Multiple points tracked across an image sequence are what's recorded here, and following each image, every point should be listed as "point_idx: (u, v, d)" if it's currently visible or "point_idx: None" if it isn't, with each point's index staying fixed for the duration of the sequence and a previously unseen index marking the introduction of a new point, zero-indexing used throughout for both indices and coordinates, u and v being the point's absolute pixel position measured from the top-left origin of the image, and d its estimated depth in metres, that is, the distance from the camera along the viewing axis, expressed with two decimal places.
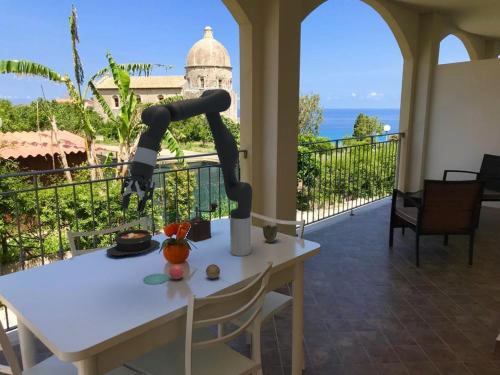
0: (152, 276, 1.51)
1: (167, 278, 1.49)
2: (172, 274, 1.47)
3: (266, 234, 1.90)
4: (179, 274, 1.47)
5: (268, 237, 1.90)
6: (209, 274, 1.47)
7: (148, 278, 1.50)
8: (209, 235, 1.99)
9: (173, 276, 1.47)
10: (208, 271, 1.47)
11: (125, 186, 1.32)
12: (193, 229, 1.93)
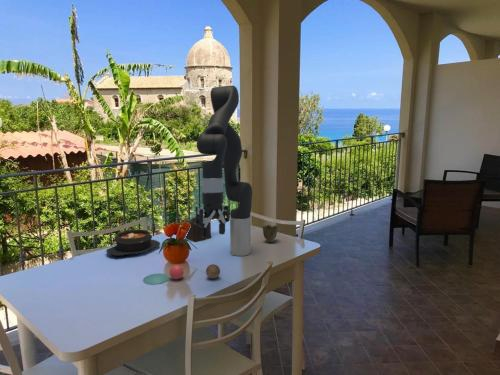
0: (152, 276, 1.51)
1: (167, 278, 1.49)
2: (172, 274, 1.47)
3: (266, 234, 1.90)
4: (179, 274, 1.47)
5: (268, 237, 1.90)
6: (209, 274, 1.47)
7: (148, 278, 1.50)
8: (209, 235, 1.99)
9: (173, 276, 1.47)
10: (208, 271, 1.47)
11: None
12: (193, 229, 1.93)
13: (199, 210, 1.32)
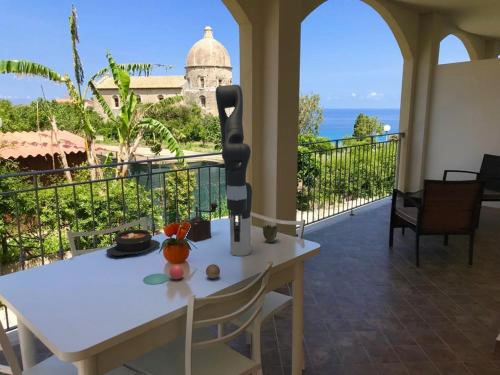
0: (152, 276, 1.51)
1: (167, 278, 1.49)
2: (172, 274, 1.47)
3: (266, 234, 1.90)
4: (179, 274, 1.47)
5: (268, 237, 1.90)
6: (209, 274, 1.47)
7: (148, 278, 1.50)
8: (209, 235, 1.99)
9: (173, 276, 1.47)
10: (208, 271, 1.47)
11: None
12: (193, 229, 1.93)
13: (238, 223, 1.40)
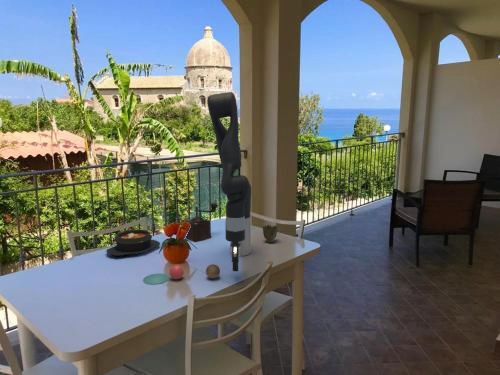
0: (152, 276, 1.51)
1: (167, 278, 1.49)
2: (172, 274, 1.47)
3: (266, 234, 1.90)
4: (179, 274, 1.47)
5: (268, 237, 1.90)
6: (209, 274, 1.47)
7: (148, 278, 1.50)
8: (209, 235, 1.99)
9: (173, 276, 1.47)
10: (208, 271, 1.47)
11: None
12: (193, 229, 1.93)
13: (236, 255, 1.42)
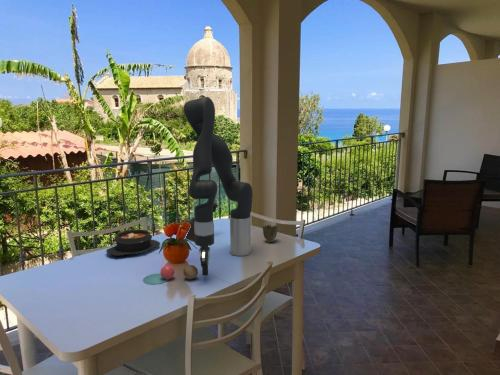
0: (152, 276, 1.51)
1: None
2: (165, 277, 1.47)
3: (266, 234, 1.90)
4: (168, 270, 1.46)
5: (268, 237, 1.90)
6: (193, 275, 1.47)
7: (148, 278, 1.50)
8: None
9: (167, 277, 1.47)
10: (193, 277, 1.47)
11: None
12: (193, 229, 1.93)
13: (204, 259, 1.42)
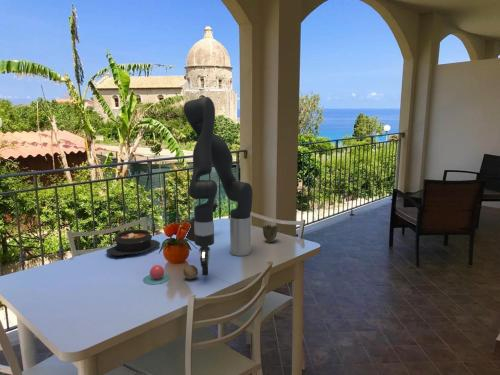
0: None
1: (167, 278, 1.49)
2: (158, 276, 1.47)
3: (266, 234, 1.90)
4: (152, 272, 1.46)
5: (268, 237, 1.90)
6: (193, 275, 1.47)
7: (148, 278, 1.50)
8: None
9: (158, 273, 1.46)
10: (193, 277, 1.47)
11: None
12: (193, 229, 1.93)
13: (204, 259, 1.42)
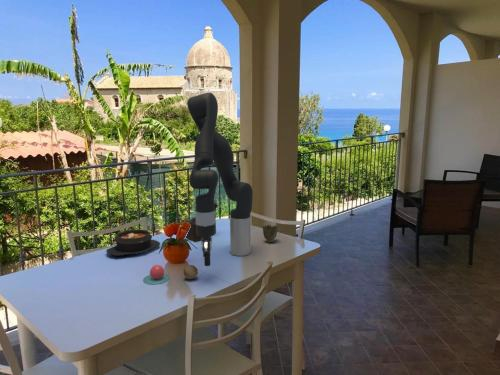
0: None
1: (167, 278, 1.49)
2: (158, 276, 1.47)
3: (266, 234, 1.90)
4: (152, 272, 1.46)
5: (268, 237, 1.90)
6: (193, 275, 1.47)
7: (148, 278, 1.50)
8: None
9: (158, 273, 1.46)
10: (193, 277, 1.47)
11: None
12: (193, 229, 1.93)
13: (207, 249, 1.41)
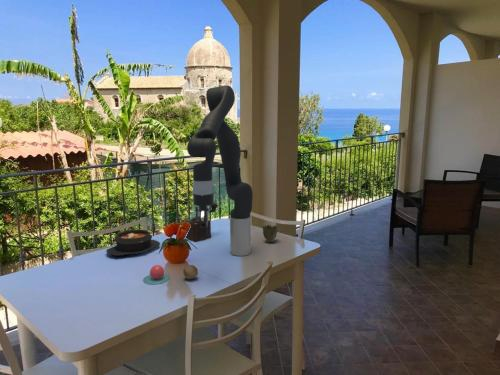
0: None
1: (167, 278, 1.49)
2: (158, 276, 1.47)
3: (266, 234, 1.90)
4: (152, 272, 1.46)
5: (268, 237, 1.90)
6: (193, 275, 1.47)
7: (148, 278, 1.50)
8: (209, 235, 1.99)
9: (158, 273, 1.46)
10: (193, 277, 1.47)
11: None
12: (193, 229, 1.93)
13: (203, 218, 1.39)
